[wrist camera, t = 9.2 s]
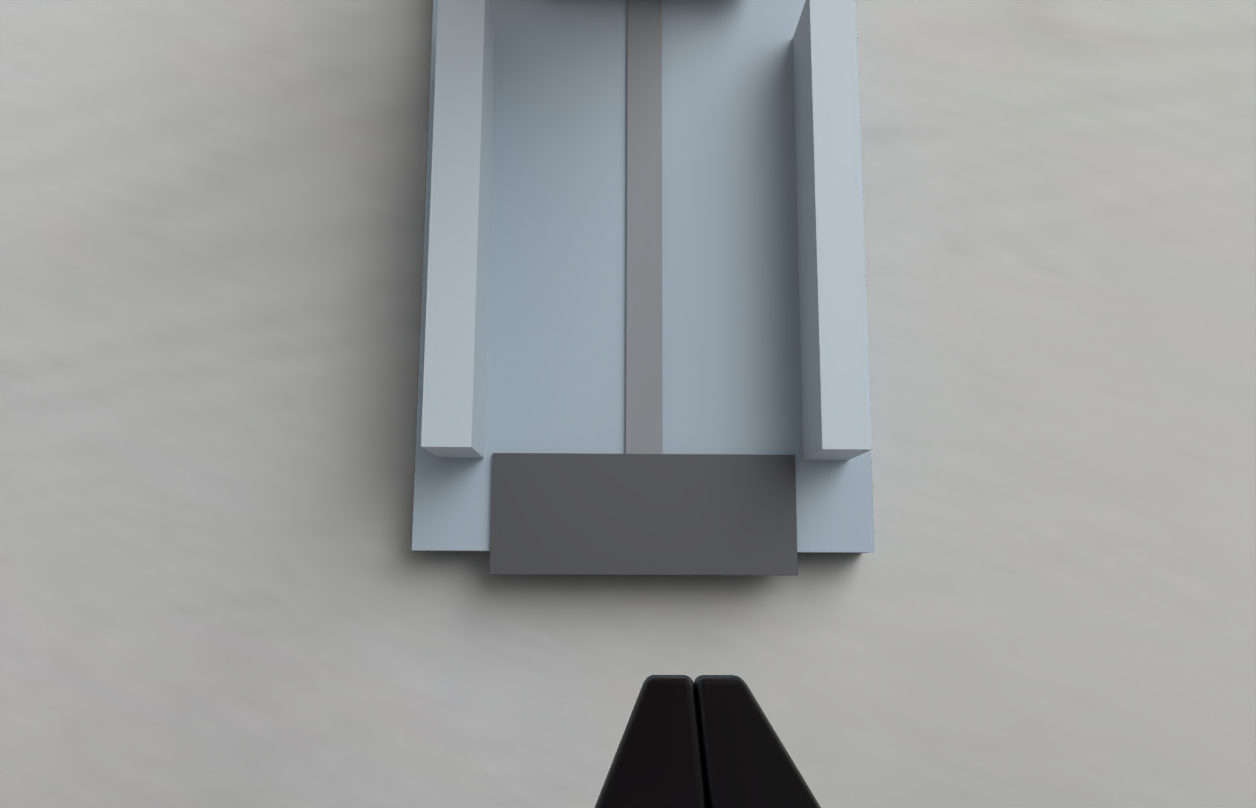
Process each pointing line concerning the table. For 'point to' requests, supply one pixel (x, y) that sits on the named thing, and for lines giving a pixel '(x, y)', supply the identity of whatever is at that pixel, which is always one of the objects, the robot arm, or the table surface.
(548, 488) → the trough board
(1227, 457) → the table surface
